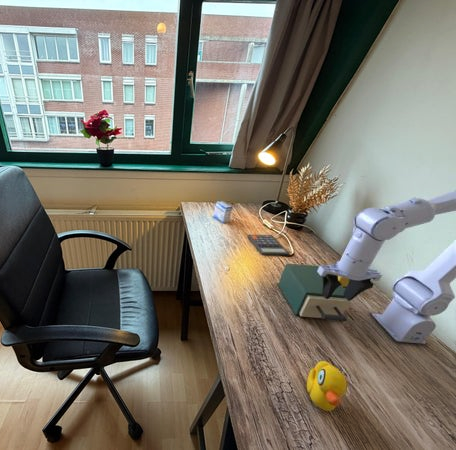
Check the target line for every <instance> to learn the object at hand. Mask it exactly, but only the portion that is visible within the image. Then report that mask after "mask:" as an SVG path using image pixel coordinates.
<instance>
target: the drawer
mask: <svg viewBox="0 0 456 450" xmlns="http://www.w3.org/2000/svg"><path fill="white" fill-rule="evenodd" d="M350 303H351V301H348V300H347V299H346V298H341V297H330V298H329V299H325V297H324V296H318V295H307V297H306V299H305V301H304V303H303V306H302V308H301V310H300V312H299V314H300V315H299V316H300V317H303V318H315V319H316V318H317V319H323V320H325V321H326V320H327V321H339V322H347V321H348V317H347V315H344V313H345V311H346V310H347V308H348V307H349V305H350Z"/></svg>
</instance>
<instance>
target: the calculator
mask: <svg viewBox="0 0 456 450" xmlns="http://www.w3.org/2000/svg"><path fill="white" fill-rule="evenodd" d="M247 237H248V238H249V240H250V242H252V244H253V245H254V247H255V248H256V249H257V250H258V251H259V252H260V254H261V255H268V256H270V255H271V256H272V255H273V256H289V255H290V252H289V251H288V250H287V249H286V248H285V247H284V246H283V245H282V244H281V243H280V242H279V241H278V239H276V238H275V236H273V235H271V234H247Z"/></svg>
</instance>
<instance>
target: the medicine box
mask: <svg viewBox="0 0 456 450" xmlns="http://www.w3.org/2000/svg"><path fill="white" fill-rule="evenodd" d="M232 211H233V206H232V205H230V204H228V203H227V202H225V201H223V200H221V201H216V203H215V207H214V213H213V218H215V219H216V220H217V221H219V222H221V223H223V224H224V223H225V224H226V223H230V220H231V216H232Z"/></svg>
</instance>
